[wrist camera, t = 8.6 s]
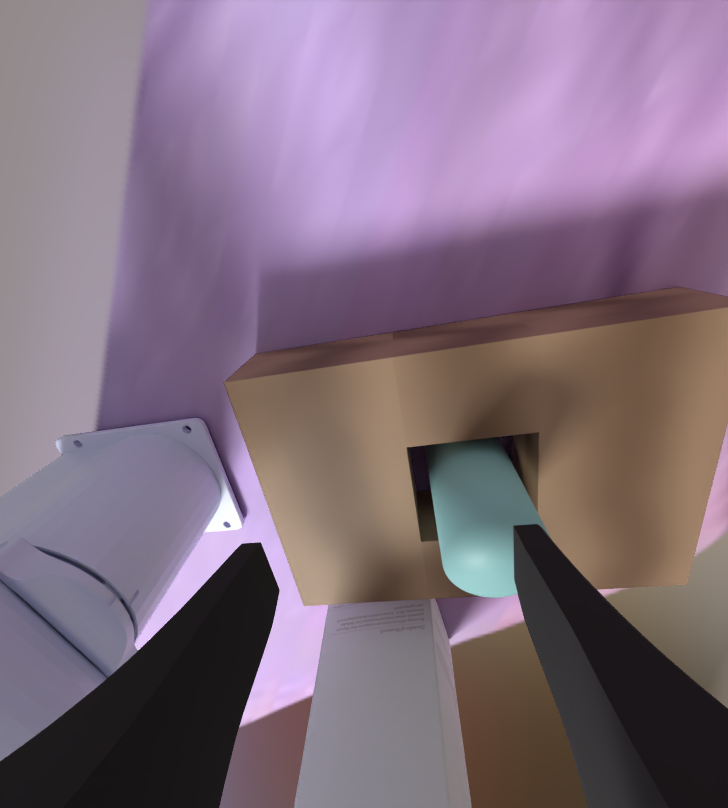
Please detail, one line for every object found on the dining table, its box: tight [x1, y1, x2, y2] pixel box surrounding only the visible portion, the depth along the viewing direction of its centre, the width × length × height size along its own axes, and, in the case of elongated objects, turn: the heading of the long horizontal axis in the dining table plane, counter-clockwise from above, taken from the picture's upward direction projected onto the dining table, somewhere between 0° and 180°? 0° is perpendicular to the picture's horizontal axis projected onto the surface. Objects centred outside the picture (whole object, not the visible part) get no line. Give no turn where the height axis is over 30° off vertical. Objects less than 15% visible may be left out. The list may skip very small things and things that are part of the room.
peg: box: [425, 437, 551, 597], centre depth 17 cm, size 4×4×8 cm
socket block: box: [224, 287, 728, 606], centre depth 19 cm, size 20×14×4 cm
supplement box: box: [294, 599, 471, 808], centre depth 22 cm, size 7×7×13 cm
